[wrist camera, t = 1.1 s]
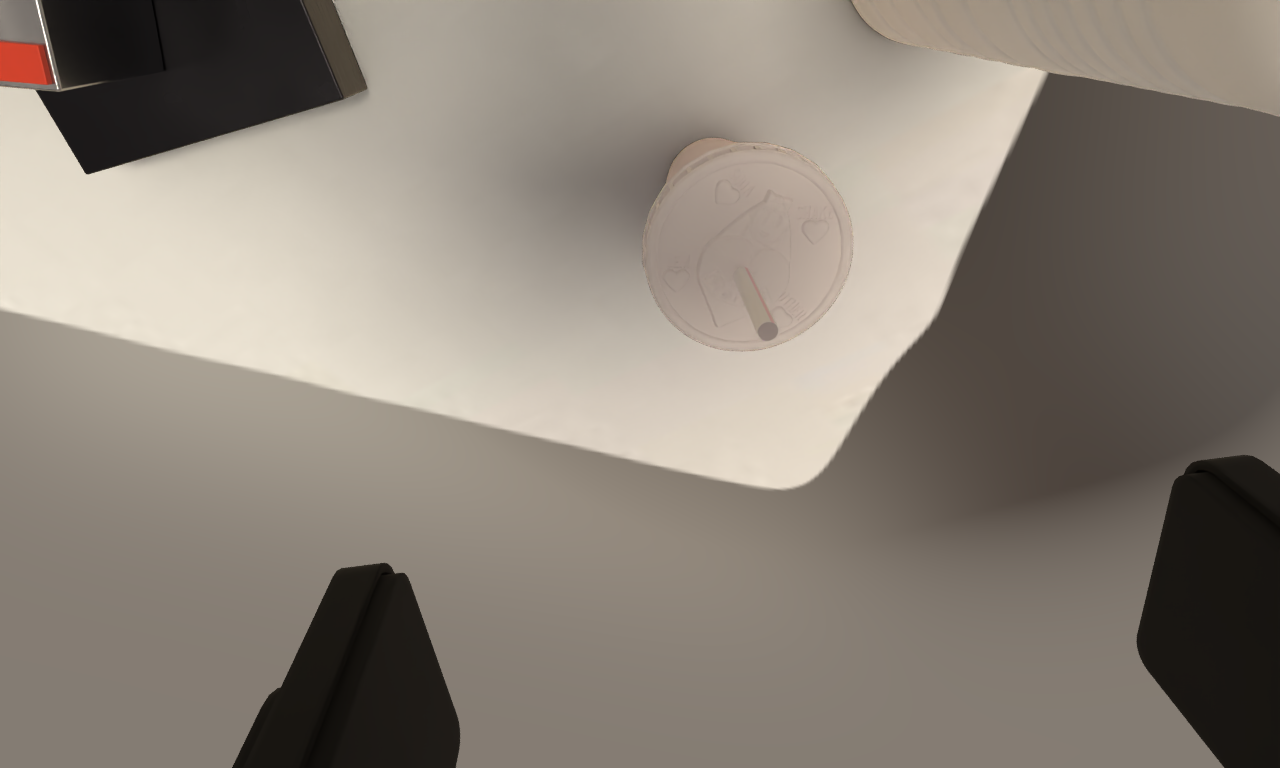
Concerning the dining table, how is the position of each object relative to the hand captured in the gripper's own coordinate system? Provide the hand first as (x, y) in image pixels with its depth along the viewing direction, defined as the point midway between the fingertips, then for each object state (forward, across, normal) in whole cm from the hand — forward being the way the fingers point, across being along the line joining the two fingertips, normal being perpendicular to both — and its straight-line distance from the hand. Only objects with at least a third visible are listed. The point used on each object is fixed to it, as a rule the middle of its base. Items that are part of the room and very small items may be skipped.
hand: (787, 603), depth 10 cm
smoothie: (+25, -2, +1) cm, 25 cm away
